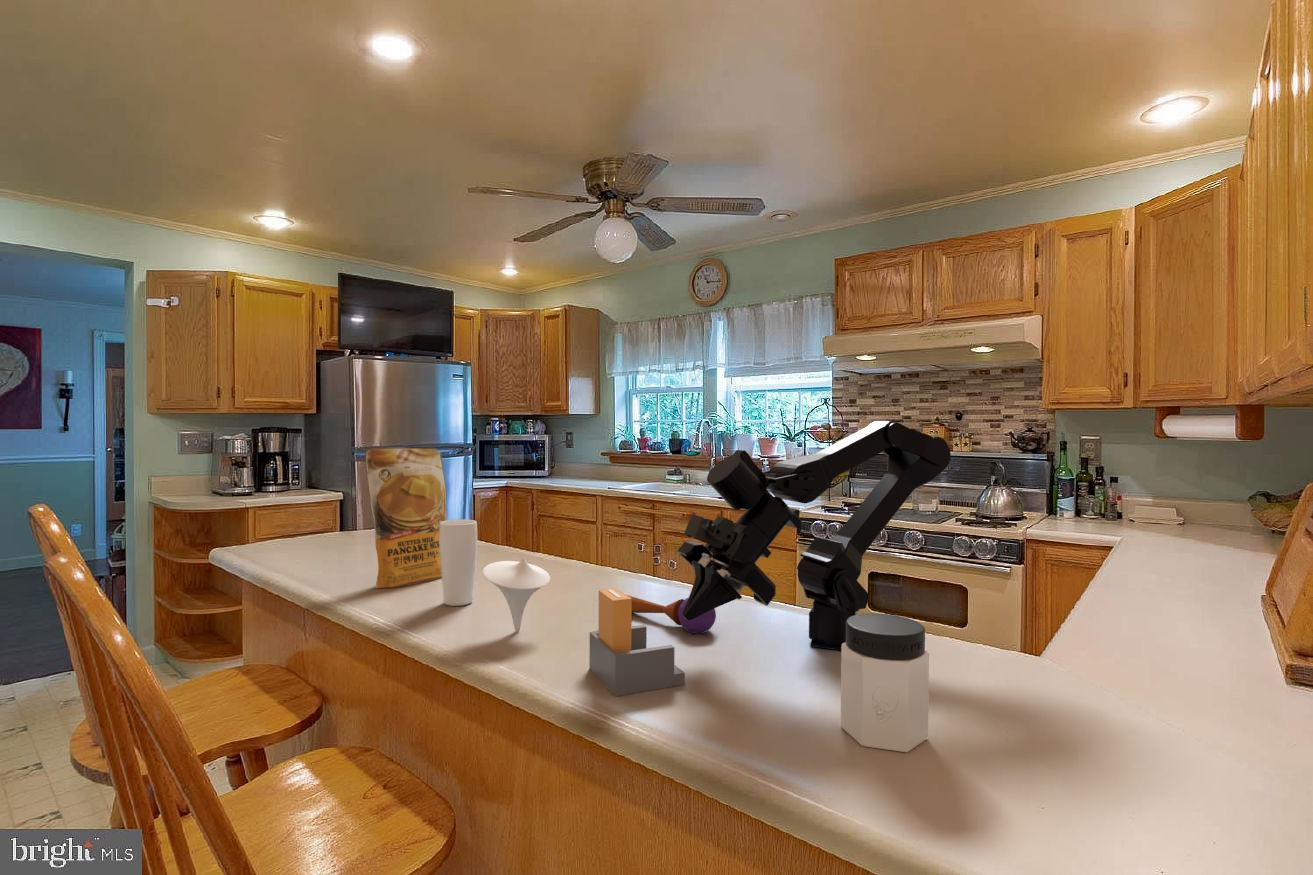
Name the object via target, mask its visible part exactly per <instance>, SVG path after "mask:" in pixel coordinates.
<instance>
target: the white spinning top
mask: <svg viewBox="0 0 1313 875" xmlns="http://www.w3.org/2000/svg"><path fill="white" fill-rule="evenodd" d="M482 576H483V577H484V578H485V579H486V580H487V581H489V582H490V583H491V584H493V585H494V586H495V587H496V588H498V589H499V591H500V592H501V593H502V595H503V596H504V598H505V600H506V602H507V605H508V608H509V611H510V614H511V615H510V616H511V620H512V623H513V627H514V631H515V632H517V633H518V632H520V630H521V625H522V620H523V614H524V611H525V607H526V605H527V604H528V601H529V599H531V597H532V596H533V594H535V593H536V592H537V591H539V589H541V588H543V587H545V586H547V585H548V584H549V583H550V582H551V575H550V574H549V573H548V571H546V570H545V569H543V568H541V567H539V566H538V565H535V564H531V563H529V562H527V561H526V558H525V557H522V558H521V560H520V561H514V560H501V561H495V562H491V563H490V564H487V565H486V566H484V568H483V569H482Z"/></svg>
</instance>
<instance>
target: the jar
mask: <svg viewBox="0 0 1313 875" xmlns="http://www.w3.org/2000/svg"><path fill="white" fill-rule="evenodd" d="M925 628H926V627H925V626H924V625H923V624H921V623H920V622H918V621H916V620H914V619H911V618H909V617H905V616H901V615H900V616H899V615H895V614H888V613H876V612H873V613H872V612H871V613H870V612H869V613H859V614H858V613H857V615H854V616H851V617H849V618H848V619H847V620H846V642H845V643H842V648H841V650H840V651H841V653H840V654H841V656H840V657H841V658H840V662H841V663H840V666H841V667H840V670H841V671H840V672H841V673H840V727H841V728H842V729H843V730H844V731H845V732H846V733H847V734H848V735H850V737H851V738H852V739H854V740H855V741H856V742H857V743H858V744H859V745H860V746H861V747H864V748H865V747H866V748H872V749H879V750H887V751H893V752H899V753H906V754H907V753H909V752H910V751H912V750H913V749H914V748H916V747H917V746H919V745H920V744H922V743H923V742H924V741H926V740H927V739H928V738H929V692H930V691H929V685H930V683H929V681H930V679H929V678H930V652H928V651H927V650H926V629H925Z"/></svg>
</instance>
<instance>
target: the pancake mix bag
mask: <svg viewBox="0 0 1313 875" xmlns="http://www.w3.org/2000/svg"><path fill="white" fill-rule="evenodd" d="M437 450H438V448H437V447H413V448H412V447H379V448H378V447H377V448H370V449H368V450H367V451H366V452H364V454H365V455H364V458H365V460H364V462H365V471H366V472H365V473H366V476H365V477H366V479H367V485H368V492H369V502H370V505H369V506H370V508H371V513H372V514H371V515H372V518H373V523H374V534H375V535H374V539H375V540H374V541H375V544H374V545H375V551H376V555H377V564H378V566H377V567H378V568H377V570H378V571H377V576H376V581H375V586H374V588H375V589H393V588H398V587H405V586H410V585H415V584H419V583H424V582H428V581H429V582H430V581H434V580H438V579H439V580H440V579H442V572H441V561H440V550H439V524H440V522H442V521H447V518H448V517H447V516H448V515H447V514H448V504H447V486H446V478H445V473H444V472H445V471H444V462H443V457H442V452H441V451H437Z"/></svg>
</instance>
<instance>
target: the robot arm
mask: <svg viewBox="0 0 1313 875" xmlns="http://www.w3.org/2000/svg"><path fill="white" fill-rule="evenodd" d="M881 453H882V454H883V455H886V456H887V469H886V473H885V474H884V475H883V477H882V478H880V480H879V481H878V482H877V484H876V485H874V487H873V488H872V490H871V491H870V492H869V493H868V495H867V496H866V498H864V499H863V501H862V502H861V504H860V505H859V506H858V507H857V508H856V510H855V511H854V512H853V513H852V514H851V516H850V517H849V518H848V519H847V521H846V522H845V523H844V524H843V526H842V527H841V528H840V529H839V531H838V532H837V533H836V535H834V536H833V537H831V538H829V539H828V538H825V537H820V536H816V537H815V538H814V539H813V540H812V541H811V543H810V545H809V546H808V548H807V549H806V550H805V551H804V552H802V553H800V557H802V558H801V559H800V560H799V562H798V565H797V566H796V569H797V580H798V582H799V584H800V585H801V587H802V588H803V589H802V590H803V593H804V595H805V598H807V599H810V600H813V603H812V608H811V609H810V610H809V613H808V638H809V640H810V643H809V644H810V645H809V646H810V647H814V648H821V649H822V648H823V649H830V650H837V651H841V648H842V643H845V642H846V620H847V619H848V618H849V617H851V616H854V615H858V612H859V611H860V610H862V609H863V610H864V609H866V608H867V606H868V603H869V602H868V601H869V598H870V593H869V592H868V591H867V590H866V589H865V587H863V586H862V584H860V582H859V581H858V579H859V578H860V576H861V573H862V566H863V565H862V563H863V562H862V561H863V556H864V555H865V553H867V550H868V549H869V548H870V547H871V546H872V544H873V543H874V541H875V540H876V539H877V538H878V536H879V535H880V534H881V533H882V531H884V529H885V527H887V525H888V524H889V523H890V521H892V519H893V517H894V516H895V515H896V514H897V512H898V511H899V510H900V509H901V507H902V506H903V504H904V503H905V502H906V501H907V500H908V499H909V497H910V496H911V494H912V493H913V492H914V491H915V490H916V489H918V488H919V487H920V488H921V486H924V485H926V484H928V483H930V482H932V481H934V480H935V479H937V478H938V476H939V475H940V474H942V473H943V472H944V471H945V470H946V469H947V468H948V466H949V464H950V463H951V456H952V455H951V454H952V453H951V450H950V447H949V445H948V442H947V441H946V440H945V439H944V438H942V437H941V436H931V435H929V434H928V433H924V432H922V431H918V430H917V429H912V428H909V427H907V426H905V425H904V424H902V423H900V422H897V421H896V420H874V421H873V422H871V423H869V424H868V425H867V426H866V427H864V428H862V429H860V430H858V431H856V432H854V433H852V434H850V435H848V436H847V437H845V438H842V439H841V440H838V441H837V442H835V443H833V444H831V445H829V446H827V447H826V448H823V449H821V450H820V451H818V452H817V451H816V452H815V453H812V454H807V455H801V456H795V457H791V458H788V459H784V460H781V461H778V462H776V463H774V465H772V466H771V467H770V468H769V469H768V470H763V471H762V470H761V469H760V467H758V465H757V464H756V463H755V462H754V461H753V459H752V457H751V455H750V454H749V453H748V452H747V451H746V450H745V449H744V450H743V449H736V450H735V451H734V453H733V454H731V455H728V456H727V457H725V458H723V459H722V460H721V461H719V462H718V463H715V464H714V465H713V466H712V467H711V469H710V471H708V473H707V477H706V481H707V483H708V484H709V485H710V486H711V487H712V488H713V489H714V491H715V492H716V493H717V494H718V495H719V496H720V497H721V498H722V500H724V501H725V503H727V505H728V506H730V508H731V509H732V510H734V511H738V510H744V511H743V513H742V514H741V515H740V517H738V519H737V520H736V522H734V520H731V519H729V518H727V517H724V516H720V515H719V516H716V518H714V520H713V519H710V518H707V517H704V516H701V515H697V514H694V513H691V515H690V517H689V520H688V522H687V525H686V527H685V530H684V533H683V535H684V536H686V537H688V538H692V539H695V540H697V541H700V542H701V543H700V542H696V541H694V540H688V541H684V542H683V543H682V544H681V545H680V547H678V549H677V553H678V554H679V555H680V556H681V557H682V559H684V560H685V561H686V562H687V563H688V564H689V565H690V567H692V568H693V569H694V575H695V576H694V577H695V578H694V581H693V585H692V588H691V591H690V593H689V596H688V597H687V598H688V601H687V603H686V606H685V608H684V611H683V613H682V615H683V617H684V618H685V619H687V620H689V621H690V620H692V619H694V618H696V617H698V616H700V615H702V614H704V613H706V612H708V611H710V610H712V609H715V610H716V609H717V608H719V607H721V606H723V605H726V604H727V603H728V604H729V603H731V602H732V601H735V600H739V601H740V600H741V599H742V598H743V596H742V595H741V594H740V592H741V591H742V590H743V589H744V588H745V587H747V588H748V589H749V590H750V591H751V592H752V593H753V599H754V601H756V603H759V604H762V605H764V606H766V607H767V606H769V605H770V603H771V601H772V600H773V599H774V597H776V593H777V592H776V588H777V587H776V584H775V583H774V582H773V581H772V580H771V579H770V578H769V577H768V575H767V574H765V573H764V571H763V570H762V569H761V568H760V567H759V566H758V565H757V562H758V561H759V560H760V558H761V557H762V558H765V559H768V558H769V557H770V556H771V554H772V551H771V550H770V549H769V547H770V546H771V544H772V543H773V542H774V540H776V538H777V536H779V535H780V534H781V531H782V530H783V529H784V528H785V527H788V528H792V529H797V530H800V529H802V522H801V517H800V514H801V512H800V511H801V510H799V509H796V508H792V507H791V508H790V506H788V504H787V503H786V502H785V501H789V502H795V503H800V504H809V503H812V502H814V501H816V499H818V498H819V497H820V496H821V495H822V494H824V493H825V492H826V491H828V489H829V488H830V486H831V485H832V482H833V481H834V480H835V479H836V478H837V477H839V476H840V475H842V474H844V473H845V472H848V471H850V470H851V469H853V468H855V467H857V466H859V465H860V464H862V463H864V462H866V461H868V460H870V459H872V458H874V457H876V456H877V455H879V454H881ZM769 490H770V491H769ZM703 543H705V545H704V544H703Z"/></svg>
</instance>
